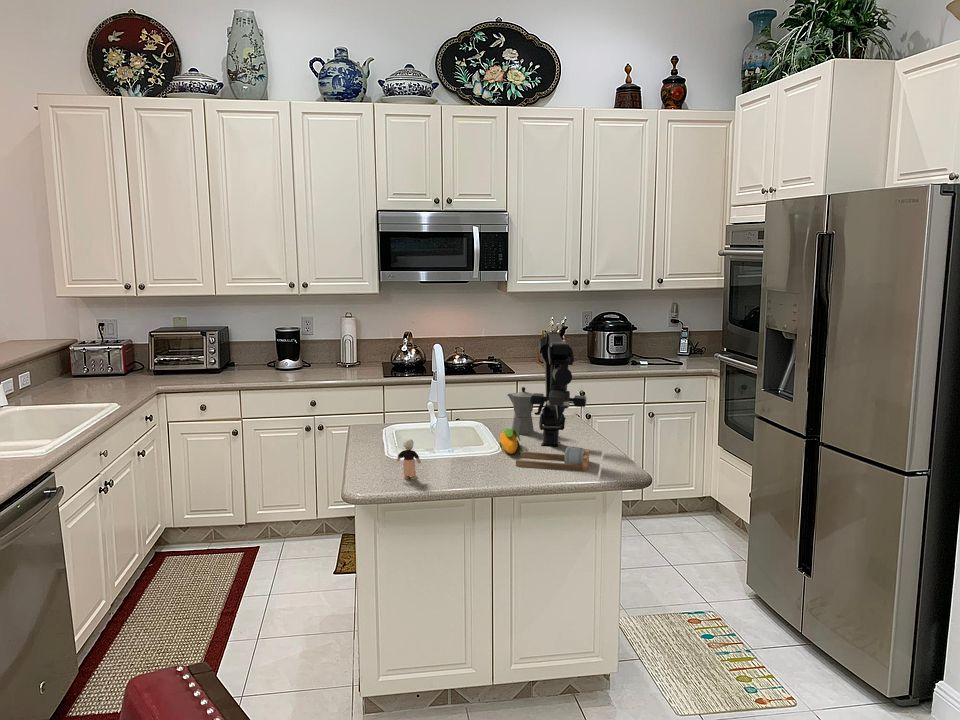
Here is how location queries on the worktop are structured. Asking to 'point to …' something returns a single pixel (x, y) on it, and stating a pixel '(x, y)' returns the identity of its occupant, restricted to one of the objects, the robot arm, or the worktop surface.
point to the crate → (574, 455)
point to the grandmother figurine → (409, 460)
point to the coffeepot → (523, 412)
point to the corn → (509, 441)
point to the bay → (551, 464)
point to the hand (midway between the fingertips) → (557, 424)
